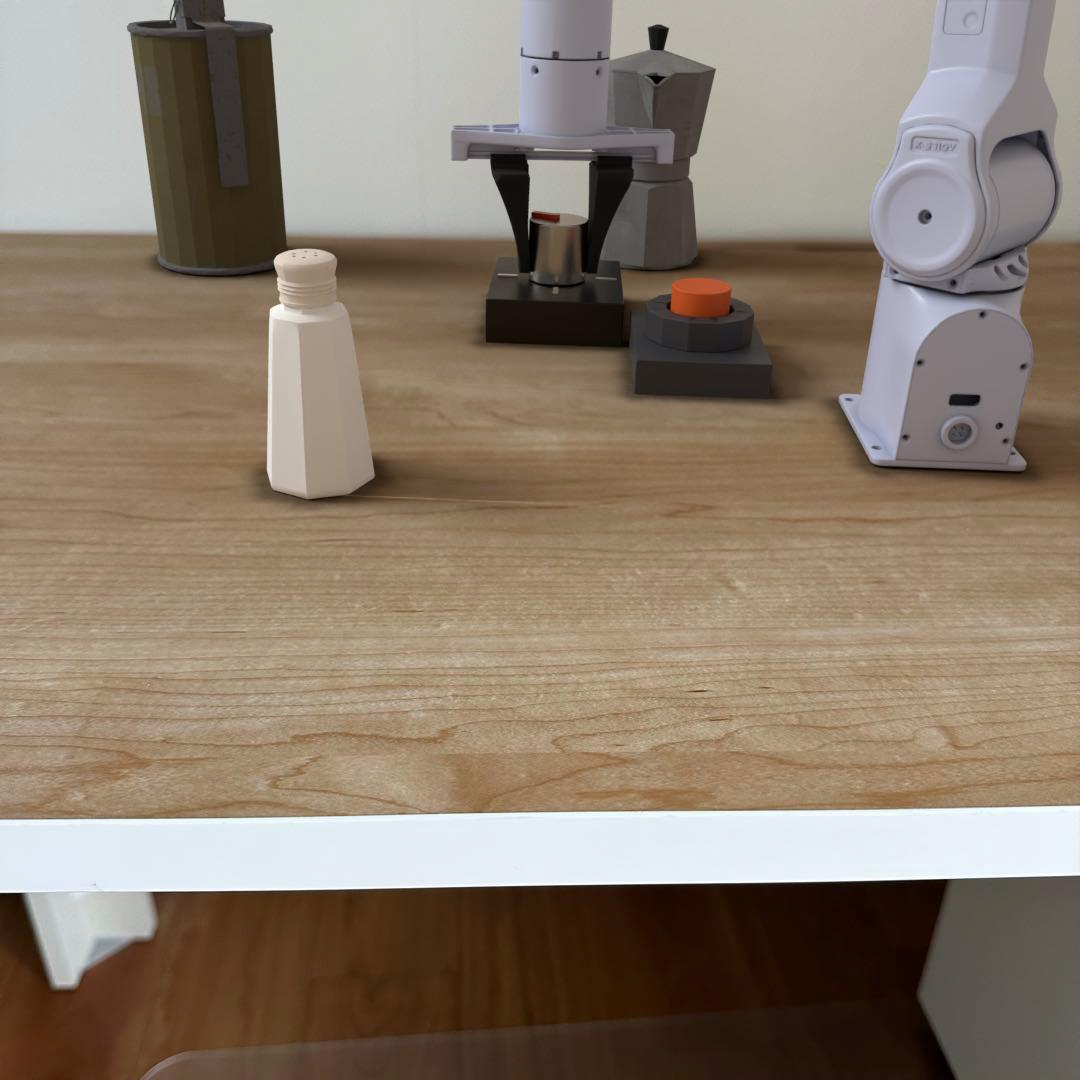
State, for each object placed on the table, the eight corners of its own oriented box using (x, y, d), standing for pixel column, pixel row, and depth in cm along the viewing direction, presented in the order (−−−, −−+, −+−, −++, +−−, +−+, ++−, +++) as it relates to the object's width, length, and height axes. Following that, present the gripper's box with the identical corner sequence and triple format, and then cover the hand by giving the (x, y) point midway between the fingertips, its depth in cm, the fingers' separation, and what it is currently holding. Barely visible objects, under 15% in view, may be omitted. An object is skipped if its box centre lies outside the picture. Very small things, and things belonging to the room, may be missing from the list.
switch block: (768, 400, 67) (777, 334, 65) (633, 394, 68) (638, 329, 66) (747, 345, 76) (754, 287, 74) (628, 341, 76) (632, 282, 74)
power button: (731, 323, 69) (735, 294, 68) (672, 321, 69) (674, 292, 68) (725, 305, 72) (728, 278, 71) (668, 303, 72) (670, 276, 71)
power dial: (594, 275, 79) (597, 212, 77) (571, 289, 76) (574, 224, 74) (543, 267, 81) (544, 205, 79) (518, 280, 78) (519, 216, 76)
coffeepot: (702, 279, 90) (725, 33, 82) (584, 274, 91) (595, 28, 82) (693, 234, 104) (712, 19, 96) (590, 230, 104) (601, 15, 96)
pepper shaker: (338, 445, 60) (325, 234, 55) (397, 480, 56) (389, 258, 51) (245, 471, 57) (221, 250, 51) (300, 510, 53) (281, 277, 48)
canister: (146, 250, 94) (109, -19, 84) (270, 239, 98) (248, -18, 89) (175, 283, 86) (138, -12, 76) (309, 269, 90) (289, -11, 81)
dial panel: (621, 348, 75) (624, 301, 74) (485, 343, 75) (485, 296, 74) (617, 300, 85) (620, 258, 83) (497, 296, 85) (497, 254, 83)
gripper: (668, 52, 76) (653, 256, 82) (450, 47, 75) (452, 253, 81) (686, 63, 70) (669, 282, 76) (449, 58, 69) (451, 280, 75)
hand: (557, 269), depth 78 cm, fingers closed on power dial, 4 cm apart
